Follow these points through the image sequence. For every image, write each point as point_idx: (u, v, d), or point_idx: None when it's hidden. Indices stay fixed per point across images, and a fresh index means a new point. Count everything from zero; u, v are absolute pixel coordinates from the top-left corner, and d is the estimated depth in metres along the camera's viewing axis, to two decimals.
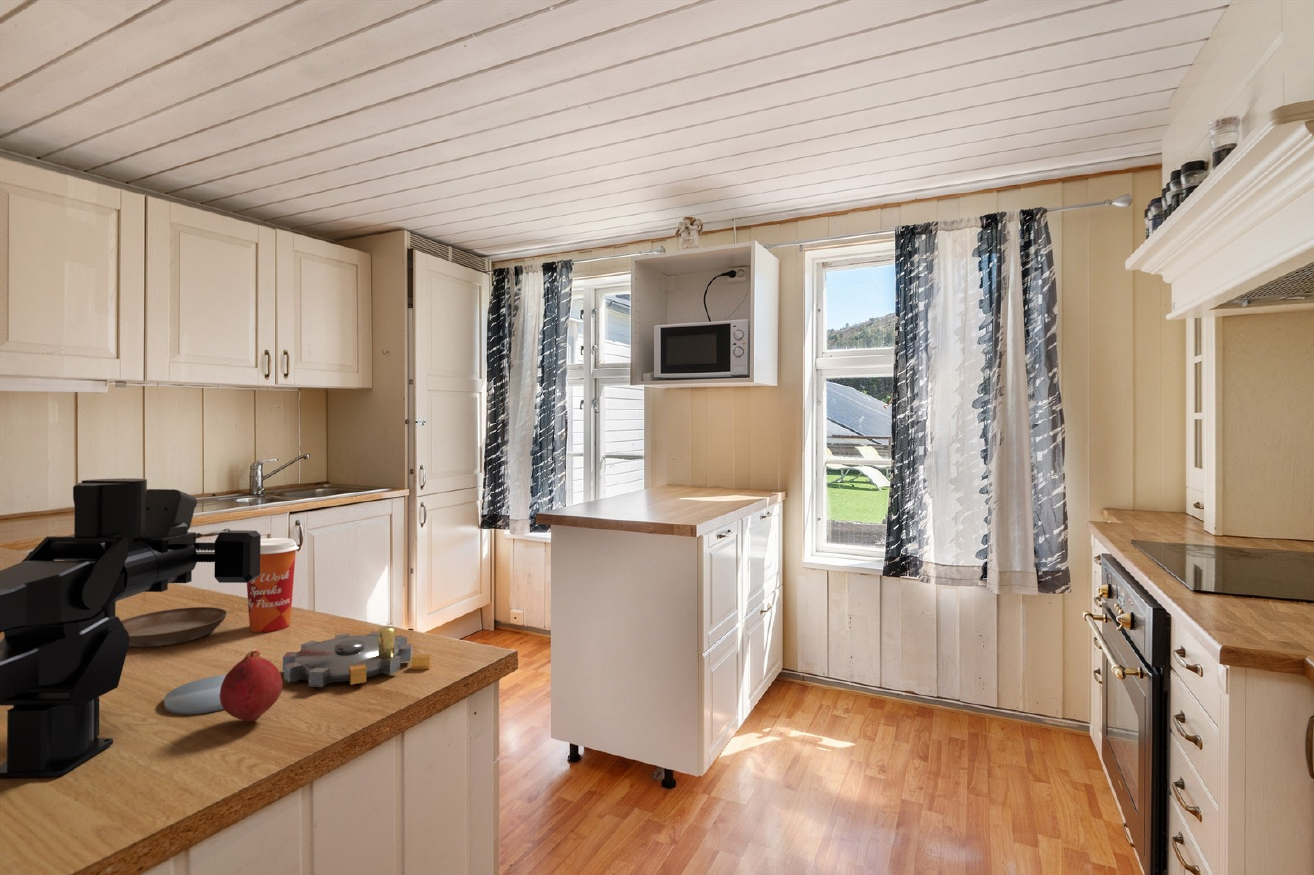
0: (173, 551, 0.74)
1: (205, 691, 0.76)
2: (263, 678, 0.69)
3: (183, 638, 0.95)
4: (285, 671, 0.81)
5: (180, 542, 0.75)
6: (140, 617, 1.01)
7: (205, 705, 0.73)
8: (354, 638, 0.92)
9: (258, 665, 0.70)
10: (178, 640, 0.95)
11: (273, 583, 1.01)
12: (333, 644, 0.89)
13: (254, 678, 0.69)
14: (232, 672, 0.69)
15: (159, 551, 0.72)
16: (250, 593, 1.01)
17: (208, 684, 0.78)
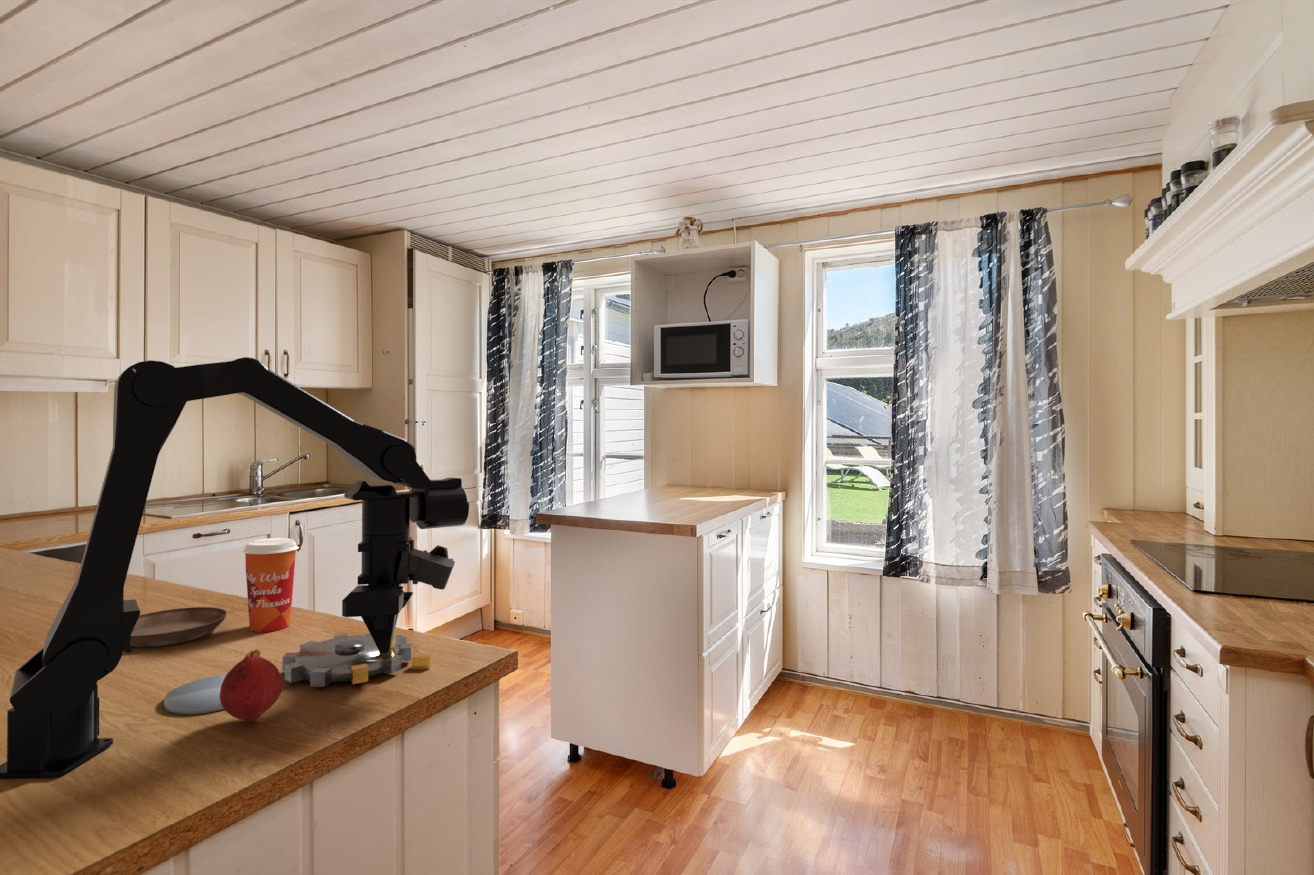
0: (393, 558, 0.81)
1: (205, 691, 0.76)
2: (263, 677, 0.69)
3: (183, 638, 0.95)
4: (285, 672, 0.81)
5: (401, 563, 0.81)
6: (140, 616, 1.01)
7: (205, 705, 0.73)
8: (353, 638, 0.92)
9: (258, 664, 0.70)
10: (178, 640, 0.95)
11: (273, 583, 1.01)
12: (332, 644, 0.89)
13: (254, 678, 0.69)
14: (232, 672, 0.69)
15: (397, 542, 0.81)
16: (250, 593, 1.01)
17: (208, 684, 0.78)
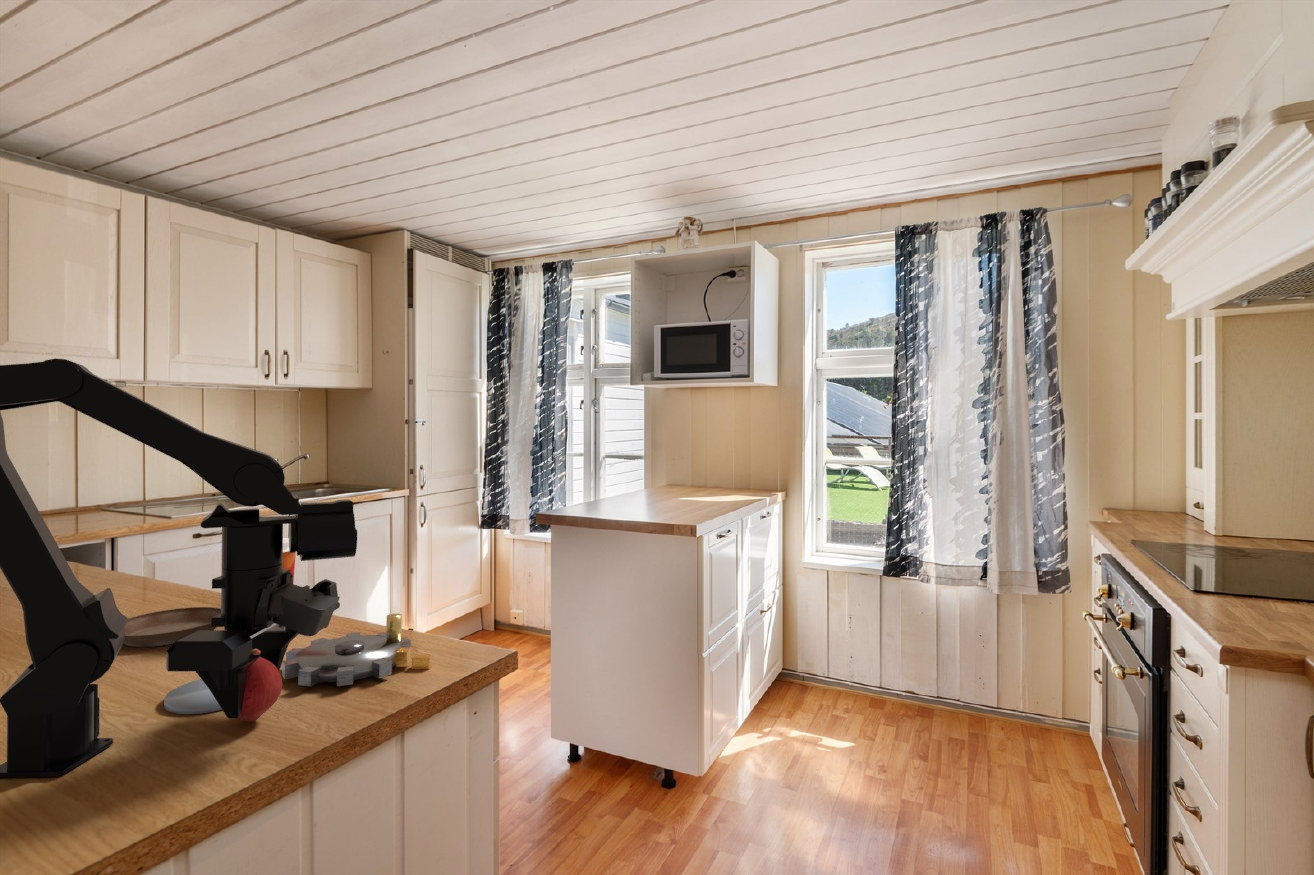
0: (252, 597, 0.68)
1: (205, 691, 0.76)
2: (263, 677, 0.69)
3: None
4: (339, 678, 0.79)
5: (260, 603, 0.68)
6: (140, 617, 1.01)
7: (205, 705, 0.73)
8: (316, 647, 0.88)
9: (258, 664, 0.70)
10: None
11: None
12: (315, 654, 0.85)
13: (254, 678, 0.69)
14: None
15: (257, 578, 0.68)
16: None
17: None
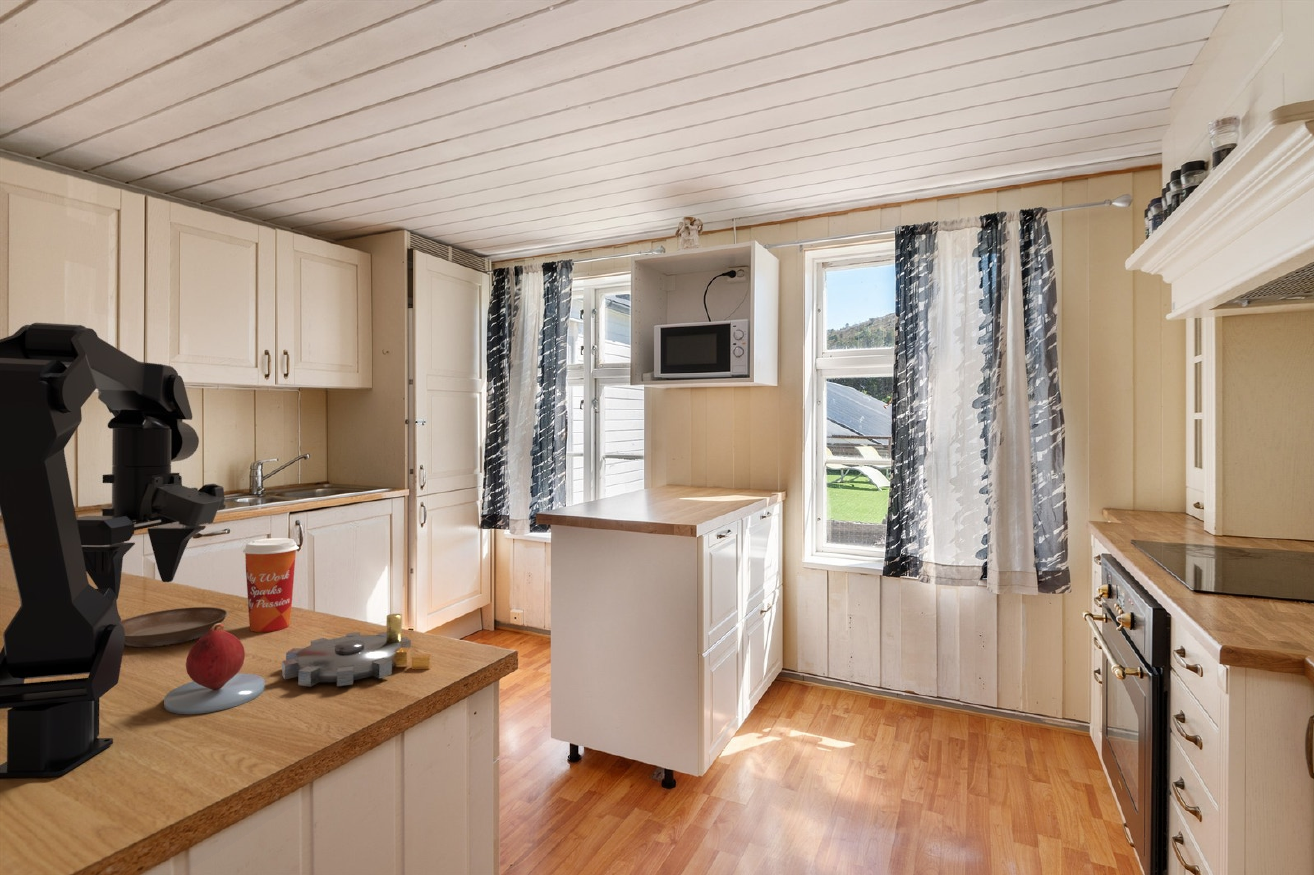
0: (138, 490, 0.77)
1: (205, 691, 0.76)
2: (225, 649, 0.76)
3: (183, 638, 0.95)
4: (339, 678, 0.79)
5: (145, 496, 0.77)
6: (140, 617, 1.01)
7: (205, 705, 0.73)
8: (316, 647, 0.88)
9: (221, 637, 0.76)
10: (178, 640, 0.95)
11: (273, 583, 1.01)
12: (315, 654, 0.85)
13: (216, 649, 0.75)
14: (197, 643, 0.75)
15: (143, 474, 0.77)
16: (250, 593, 1.01)
17: None
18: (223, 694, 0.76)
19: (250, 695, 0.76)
